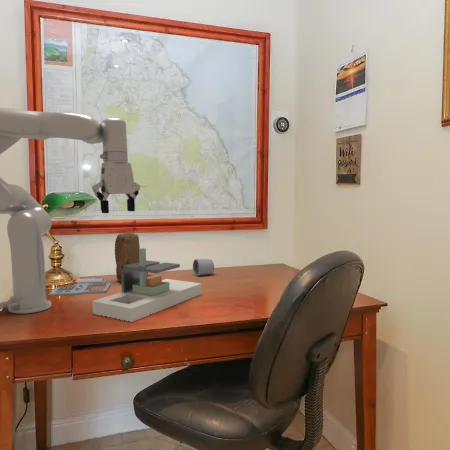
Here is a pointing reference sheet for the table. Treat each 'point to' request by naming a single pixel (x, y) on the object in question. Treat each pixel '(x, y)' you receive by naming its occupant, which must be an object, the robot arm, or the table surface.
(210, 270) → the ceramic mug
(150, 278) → the orange block
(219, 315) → the table surface
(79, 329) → the table surface
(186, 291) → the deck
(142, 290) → the green peg stand
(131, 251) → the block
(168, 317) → the table surface
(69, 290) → the blue-grey slotted plate
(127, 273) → the grey overhanging bracket
